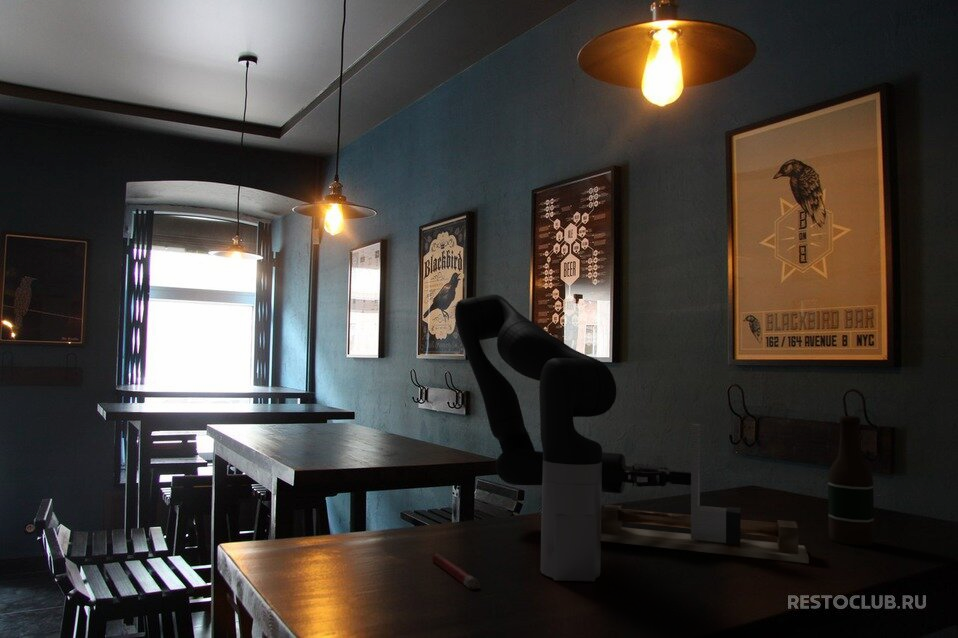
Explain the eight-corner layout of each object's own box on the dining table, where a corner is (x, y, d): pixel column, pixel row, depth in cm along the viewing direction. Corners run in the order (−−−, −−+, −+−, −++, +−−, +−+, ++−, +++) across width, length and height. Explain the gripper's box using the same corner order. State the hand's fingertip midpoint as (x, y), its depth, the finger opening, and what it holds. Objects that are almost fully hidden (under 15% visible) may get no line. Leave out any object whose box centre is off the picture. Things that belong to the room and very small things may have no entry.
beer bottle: (819, 538, 139) (818, 414, 141) (849, 536, 142) (847, 415, 143) (853, 547, 132) (851, 417, 133) (883, 545, 134) (882, 417, 136)
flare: (469, 592, 100) (469, 579, 101) (431, 564, 114) (432, 553, 114) (479, 590, 101) (480, 578, 101) (441, 563, 115) (441, 552, 115)
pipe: (607, 522, 135) (607, 508, 135) (609, 519, 137) (610, 505, 137) (791, 540, 124) (791, 525, 124) (790, 537, 126) (790, 522, 126)
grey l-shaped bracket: (690, 539, 128) (691, 425, 129) (692, 532, 133) (693, 423, 135) (726, 543, 126) (726, 427, 127) (726, 536, 131) (726, 425, 133)
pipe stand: (590, 539, 132) (591, 510, 133) (599, 530, 141) (600, 502, 141) (808, 563, 120) (808, 530, 120) (804, 551, 128) (804, 520, 128)
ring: (726, 544, 126) (726, 512, 126) (726, 537, 131) (726, 506, 131) (740, 545, 125) (740, 513, 125) (740, 538, 130) (740, 507, 131)
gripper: (592, 455, 131) (690, 462, 125) (605, 448, 144) (694, 454, 138) (591, 496, 131) (689, 505, 125) (604, 486, 143) (694, 493, 137)
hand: (691, 478), depth 131 cm, fingers closed
